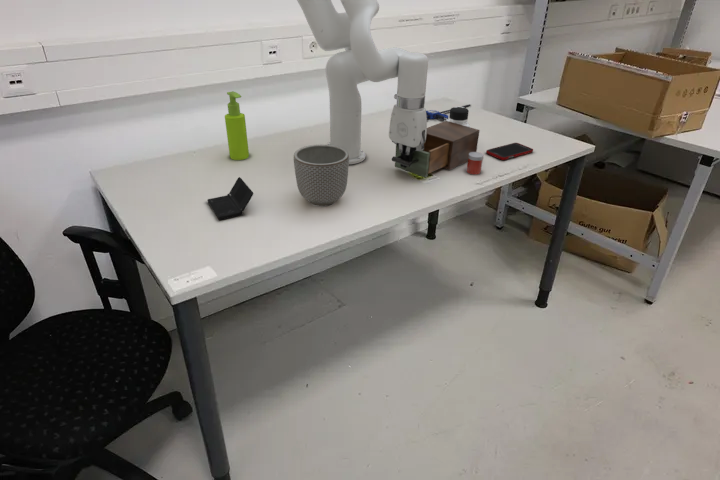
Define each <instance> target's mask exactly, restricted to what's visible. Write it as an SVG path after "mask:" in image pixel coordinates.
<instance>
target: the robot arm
mask: <svg viewBox="0 0 720 480" xmlns="http://www.w3.org/2000/svg"><path fill="white" fill-rule="evenodd" d="M296 1H297V3H298V5H299V7H300V8H301V10H302V13H303V15H304V17H305V19H306V22H307V24H308V27H309V28H310V31H311V32H312V35H313V37H314V39H315V41H316V43H317V45H318V47H319V48H320V49H322V50H323V51H326V52H332V51H338V50H343V49H344V50H343V51H339V52H337V53H335V54H333V55H332V56H331V57H329V58H328V60H327V62H326V64H325V77H326V82H327V87H328V97H329V141H328V142H327V143H326V145H334V146H338V147H341V148H343V149H345V150H346V151H347V152H348V154H349V165H355V164H360V163H362V162H363V161H364V160H365V159H366V151H364V150H362V97H361V93H360V91H359V88H358V85H359V84H362V83H365V82H368V81H370V82H372V83H380V82H385V81H388V80H390V79H391V80H392V79H396V78H397V87H396V93H395V94H394V96H393V98H394V100H396V102H395V104H394V105H393V107H392V111H391V115H390V120H389V128H388V138H389V140H390V141H391V142H392V143H393V144H394V145H396V144H397V146H398V148H399V152H400V153H401V159H403V160H406V161H409V162H411V161H412V156H413V153H414V152H415V151H422V150H424V143H425V141H426V135H427V128H428V118H427V116H426V111H427V109H426V108H425V103H426V91H427V90H426V89H427V78H428V70H429V58H428V56H427V55H426V54H424V53H422V52H416V51H415V52H413V51H409V50H406V49H403V48H400V47H389V48H384V49H379V50H378V47H377V46H376V44H375V41H374V39H373V36H372V33H371V24H372V20H373V19H374V18H375V17H376V16H377V14H378V13H379V11H380V4H379V1H378V0H339V1H340V3H341V4H342V6H343V7H342V8H344V10H345V12H338V10H337V9H336V8H335V6H334V4H333V2H332V0H296ZM400 166H401V167H404V168H406V167H408V166H405V165H402V164H401V165H400Z"/></svg>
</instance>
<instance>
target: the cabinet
mask: <svg viewBox="0 0 720 480" xmlns="http://www.w3.org/2000/svg"><path fill="white" fill-rule="evenodd" d="M480 131H481V130H480V129H477V128H475V127H471V126H470V127H467V126H463V125H460V124H456V123H453V122H449V121H446V120H443V121H442V122H439V123H436V124H434V125H430V126H427V135H426V136H429V137H432V138H435V139H438V140H442V141H445V142H448V143H451V144H450V152H449V160H448V165H446V166H444V167H442V168H441V169H444V170H446V171H447V170H448V171H451V170H453V169H455V168H457V167H459V166H461V165H463V164H466V163H468V155H469V153H470V152H478V151H477V150H478V143H479V137H480Z"/></svg>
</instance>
